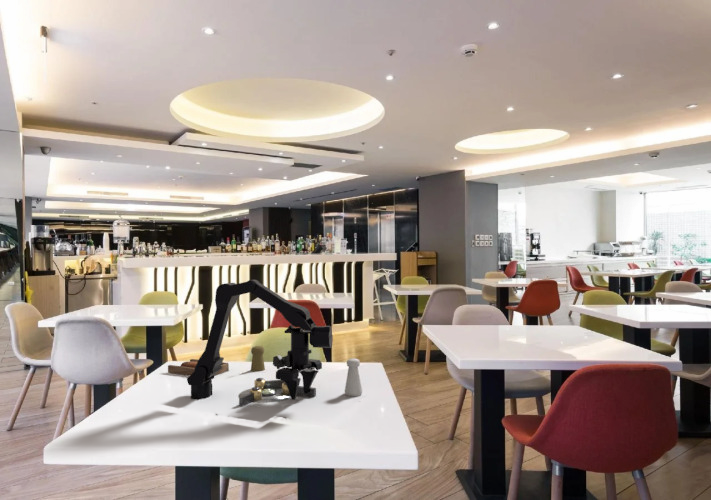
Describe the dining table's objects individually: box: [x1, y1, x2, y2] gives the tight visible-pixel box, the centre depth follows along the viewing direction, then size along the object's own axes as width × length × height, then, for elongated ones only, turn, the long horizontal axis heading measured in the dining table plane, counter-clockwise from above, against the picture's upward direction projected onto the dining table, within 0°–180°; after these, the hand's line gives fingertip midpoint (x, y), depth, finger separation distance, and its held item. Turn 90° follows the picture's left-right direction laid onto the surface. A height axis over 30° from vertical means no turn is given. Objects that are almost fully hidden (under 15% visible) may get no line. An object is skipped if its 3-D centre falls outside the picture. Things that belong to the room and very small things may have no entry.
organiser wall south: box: [215, 363, 230, 376], centre depth 186 cm, size 11×1×3 cm, turn 155°
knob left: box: [254, 377, 284, 390], centre depth 159 cm, size 12×4×4 cm, turn 105°
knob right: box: [282, 382, 317, 398], centre depth 152 cm, size 12×4×4 cm, turn 67°
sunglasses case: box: [180, 360, 197, 368], centre depth 191 cm, size 18×7×7 cm, turn 67°
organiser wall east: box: [189, 358, 229, 365], centre depth 196 cm, size 1×20×3 cm, turn 65°
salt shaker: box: [344, 357, 363, 397], centre depth 152 cm, size 6×6×13 cm
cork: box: [250, 345, 266, 372], centre depth 186 cm, size 6×6×11 cm
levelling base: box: [238, 386, 291, 407], centre depth 151 cm, size 24×19×5 cm
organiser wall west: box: [167, 364, 195, 377], centre depth 185 cm, size 1×20×3 cm, turn 65°
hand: (299, 396), depth 146 cm, fingers open, 7 cm apart
